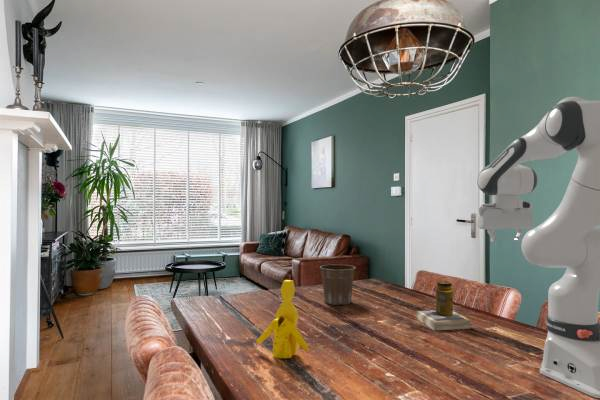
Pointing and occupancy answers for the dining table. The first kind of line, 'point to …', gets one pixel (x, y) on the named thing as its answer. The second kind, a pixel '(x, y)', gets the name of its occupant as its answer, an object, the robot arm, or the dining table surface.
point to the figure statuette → (285, 326)
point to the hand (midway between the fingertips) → (505, 241)
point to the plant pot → (337, 283)
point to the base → (443, 321)
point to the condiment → (444, 300)
